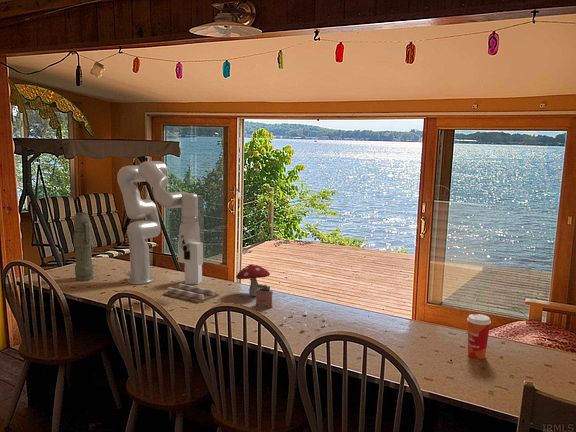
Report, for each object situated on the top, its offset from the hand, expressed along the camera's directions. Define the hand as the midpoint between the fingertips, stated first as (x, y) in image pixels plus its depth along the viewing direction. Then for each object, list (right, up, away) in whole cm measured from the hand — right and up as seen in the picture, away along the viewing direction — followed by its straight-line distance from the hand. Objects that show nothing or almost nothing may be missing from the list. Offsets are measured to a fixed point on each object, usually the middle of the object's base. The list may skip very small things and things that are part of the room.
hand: (190, 257), depth 235 cm
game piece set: (+53, -24, -31) cm, 66 cm away
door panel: (0, -2, 0) cm, 2 cm away
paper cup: (+111, -29, -61) cm, 130 cm away
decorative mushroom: (+29, -18, +4) cm, 35 cm away
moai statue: (-62, -14, +29) cm, 69 cm away
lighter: (+35, -21, -12) cm, 43 cm away
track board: (0, -18, +3) cm, 18 cm away
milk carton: (-3, -15, +24) cm, 29 cm away
